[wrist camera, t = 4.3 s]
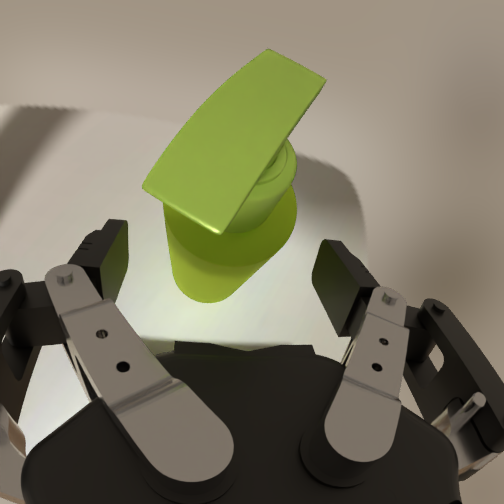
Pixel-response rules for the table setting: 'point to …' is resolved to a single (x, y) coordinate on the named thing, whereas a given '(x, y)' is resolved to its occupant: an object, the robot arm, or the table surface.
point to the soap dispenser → (233, 177)
